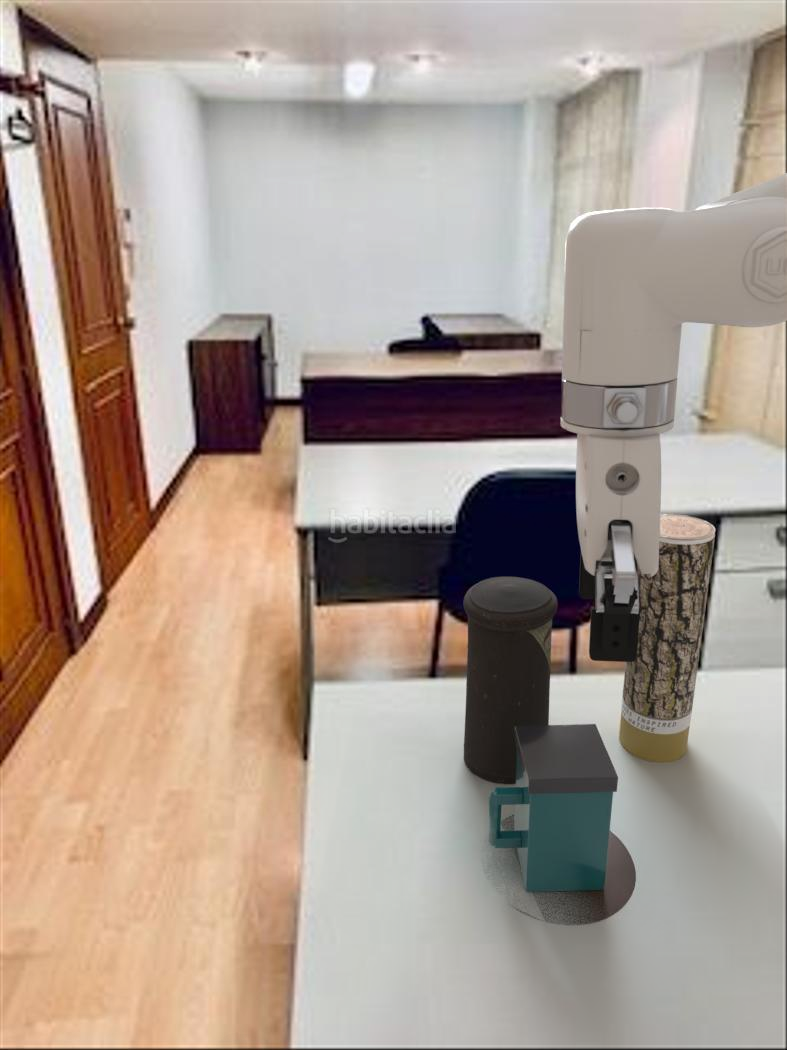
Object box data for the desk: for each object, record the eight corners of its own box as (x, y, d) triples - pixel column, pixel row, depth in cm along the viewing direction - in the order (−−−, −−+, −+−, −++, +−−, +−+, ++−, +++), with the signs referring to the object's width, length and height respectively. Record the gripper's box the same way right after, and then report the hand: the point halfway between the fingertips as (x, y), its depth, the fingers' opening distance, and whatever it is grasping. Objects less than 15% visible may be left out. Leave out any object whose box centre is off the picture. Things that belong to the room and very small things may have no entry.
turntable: (618, 817, 71) (619, 810, 70) (652, 937, 58) (653, 929, 58) (478, 813, 72) (478, 806, 71) (482, 930, 59) (483, 922, 59)
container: (565, 778, 76) (577, 598, 69) (485, 803, 73) (489, 617, 66) (521, 730, 83) (527, 563, 76) (447, 751, 80) (446, 579, 73)
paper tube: (691, 772, 76) (723, 541, 67) (621, 765, 77) (643, 537, 69) (680, 731, 82) (707, 515, 74) (615, 726, 84) (634, 512, 75)
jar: (587, 831, 68) (595, 723, 64) (607, 892, 62) (618, 777, 58) (483, 833, 68) (485, 726, 64) (492, 895, 62) (495, 780, 58)
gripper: (702, 434, 43) (678, 691, 49) (653, 380, 59) (639, 579, 65) (568, 435, 45) (560, 686, 51) (555, 382, 61) (550, 578, 66)
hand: (605, 626), depth 58 cm, fingers open, 9 cm apart
